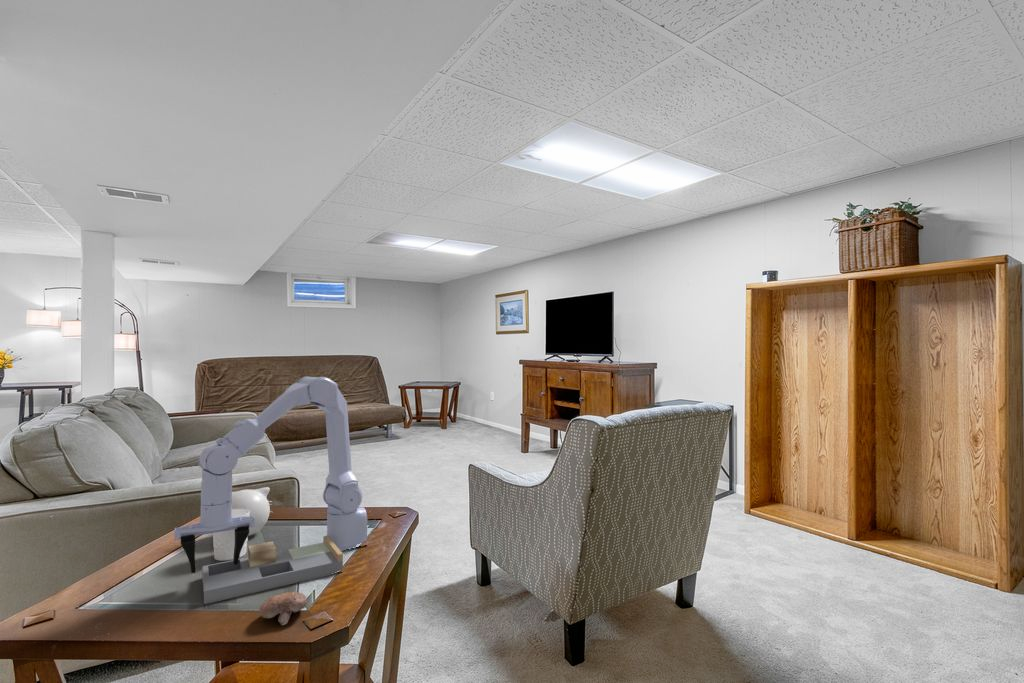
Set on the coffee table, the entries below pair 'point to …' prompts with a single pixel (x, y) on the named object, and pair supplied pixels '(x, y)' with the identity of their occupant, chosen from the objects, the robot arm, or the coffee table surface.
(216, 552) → the white cup
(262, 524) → the cat head
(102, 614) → the coffee table surface
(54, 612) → the coffee table surface
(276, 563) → the board
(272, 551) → the maple block
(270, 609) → the mushroom
